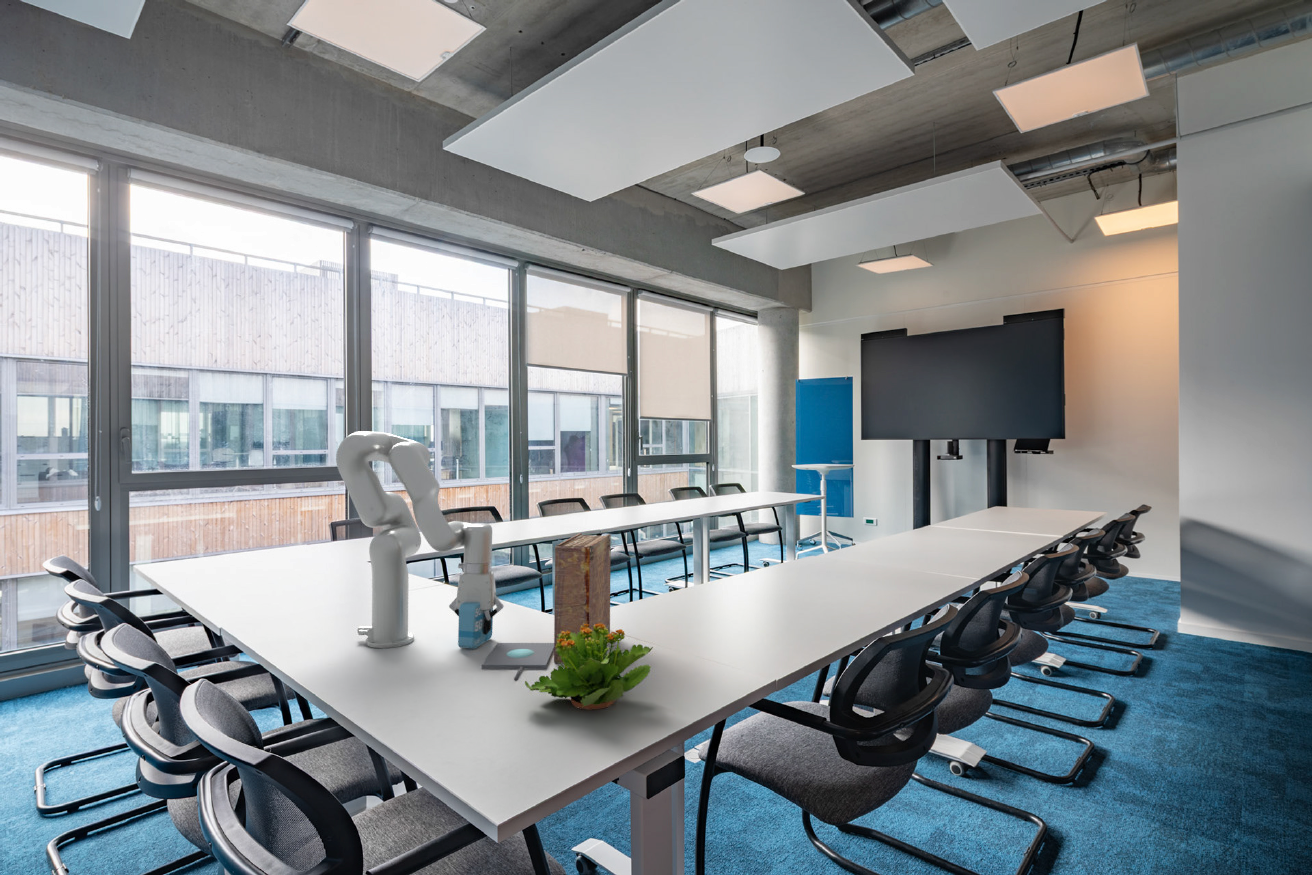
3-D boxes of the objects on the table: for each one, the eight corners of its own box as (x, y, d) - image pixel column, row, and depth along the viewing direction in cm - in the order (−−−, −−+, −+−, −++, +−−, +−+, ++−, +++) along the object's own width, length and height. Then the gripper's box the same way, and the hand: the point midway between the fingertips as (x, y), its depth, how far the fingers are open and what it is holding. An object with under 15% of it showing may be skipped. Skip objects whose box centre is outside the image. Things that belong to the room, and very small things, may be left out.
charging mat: (473, 680, 156) (473, 675, 156) (497, 646, 182) (497, 642, 182) (541, 680, 156) (541, 676, 156) (555, 646, 182) (555, 642, 182)
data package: (473, 650, 177) (474, 605, 177) (457, 649, 178) (458, 604, 178) (492, 637, 189) (493, 595, 189) (477, 636, 190) (479, 594, 190)
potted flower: (577, 674, 160) (578, 602, 160) (667, 689, 151) (668, 613, 151) (518, 713, 137) (518, 629, 137) (620, 733, 128) (621, 643, 128)
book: (579, 634, 193) (580, 532, 194) (610, 636, 192) (611, 533, 192) (553, 663, 168) (554, 546, 168) (588, 665, 167) (589, 547, 167)
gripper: (442, 569, 180) (440, 636, 180) (505, 571, 180) (503, 637, 180) (450, 564, 187) (448, 628, 187) (511, 566, 188) (509, 629, 188)
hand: (475, 632), depth 184 cm, fingers closed on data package, 5 cm apart
